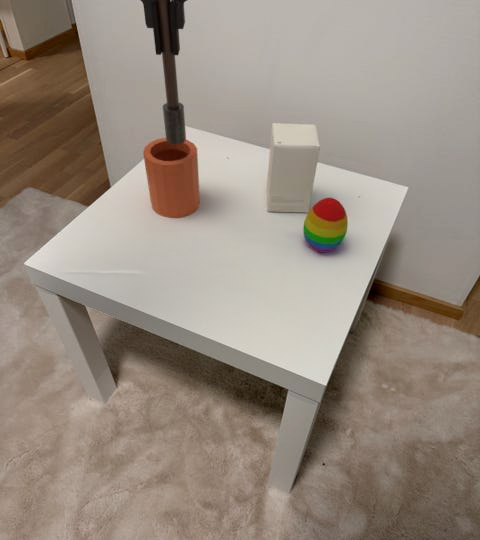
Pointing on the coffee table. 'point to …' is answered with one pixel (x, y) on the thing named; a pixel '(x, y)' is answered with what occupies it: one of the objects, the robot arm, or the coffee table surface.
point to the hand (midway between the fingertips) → (168, 51)
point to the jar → (172, 177)
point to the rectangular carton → (292, 167)
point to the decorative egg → (325, 225)
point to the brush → (170, 80)
